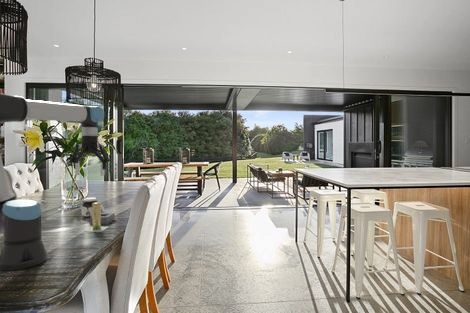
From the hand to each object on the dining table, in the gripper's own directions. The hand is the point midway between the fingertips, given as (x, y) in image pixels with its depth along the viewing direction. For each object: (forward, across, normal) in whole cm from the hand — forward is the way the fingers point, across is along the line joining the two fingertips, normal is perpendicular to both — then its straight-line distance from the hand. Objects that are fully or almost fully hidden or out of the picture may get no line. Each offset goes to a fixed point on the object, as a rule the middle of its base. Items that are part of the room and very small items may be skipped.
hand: (90, 175), depth 150 cm
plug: (+29, -4, 0) cm, 29 cm away
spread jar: (+29, +13, -29) cm, 43 cm away
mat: (+29, -4, 0) cm, 29 cm away
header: (+29, +1, -15) cm, 33 cm away
